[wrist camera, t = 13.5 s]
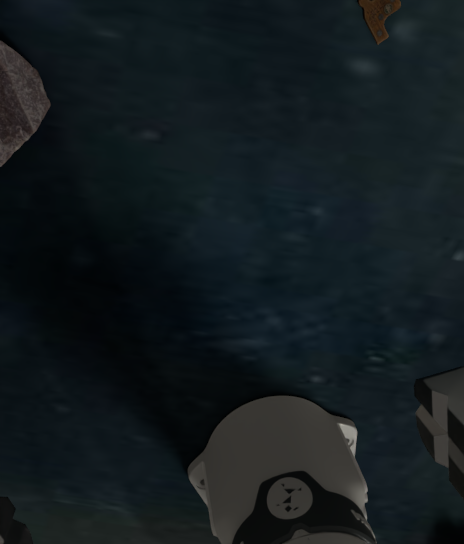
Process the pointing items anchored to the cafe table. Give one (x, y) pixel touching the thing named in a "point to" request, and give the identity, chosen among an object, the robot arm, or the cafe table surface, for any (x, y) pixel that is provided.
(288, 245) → the cafe table surface
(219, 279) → the cafe table surface
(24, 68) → the rock
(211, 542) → the cafe table surface
